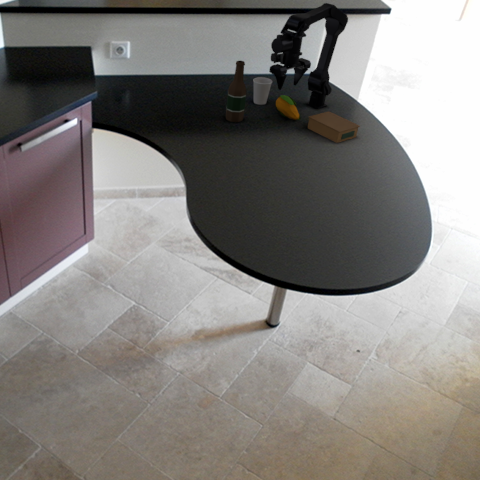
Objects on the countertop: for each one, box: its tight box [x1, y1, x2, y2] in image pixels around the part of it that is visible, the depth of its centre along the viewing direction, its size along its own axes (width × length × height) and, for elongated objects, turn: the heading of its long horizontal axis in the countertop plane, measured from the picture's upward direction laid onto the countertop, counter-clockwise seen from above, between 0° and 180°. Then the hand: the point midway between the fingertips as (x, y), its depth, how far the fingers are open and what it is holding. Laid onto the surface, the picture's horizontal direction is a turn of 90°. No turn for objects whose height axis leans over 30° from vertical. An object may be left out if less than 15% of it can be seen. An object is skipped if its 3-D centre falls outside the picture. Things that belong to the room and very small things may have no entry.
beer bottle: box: [225, 60, 247, 123], centre depth 239 cm, size 8×8×24 cm
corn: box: [275, 94, 301, 121], centre depth 248 cm, size 7×8×20 cm
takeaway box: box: [307, 110, 361, 144], centre depth 236 cm, size 17×12×5 cm
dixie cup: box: [252, 76, 273, 106], centre depth 260 cm, size 8×8×10 cm
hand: (287, 87), depth 242 cm, fingers open, 9 cm apart
